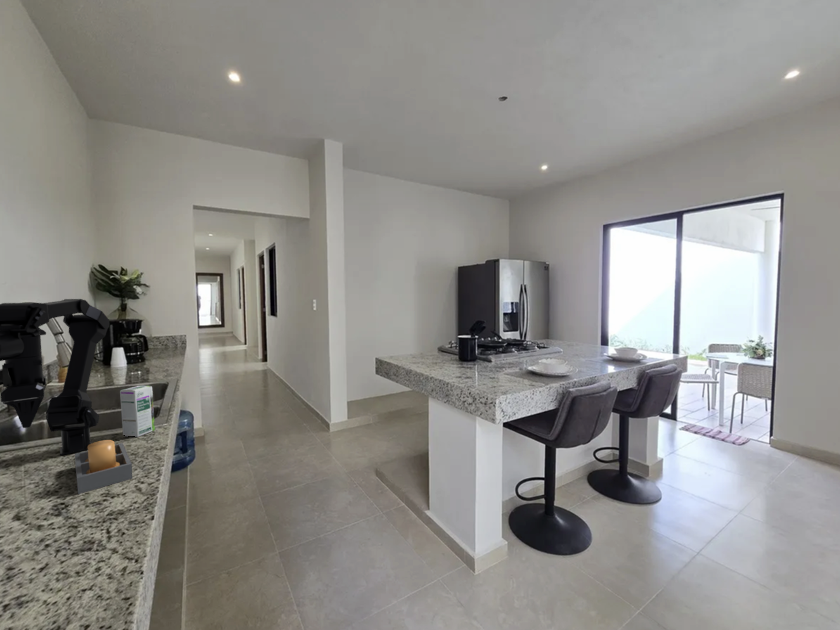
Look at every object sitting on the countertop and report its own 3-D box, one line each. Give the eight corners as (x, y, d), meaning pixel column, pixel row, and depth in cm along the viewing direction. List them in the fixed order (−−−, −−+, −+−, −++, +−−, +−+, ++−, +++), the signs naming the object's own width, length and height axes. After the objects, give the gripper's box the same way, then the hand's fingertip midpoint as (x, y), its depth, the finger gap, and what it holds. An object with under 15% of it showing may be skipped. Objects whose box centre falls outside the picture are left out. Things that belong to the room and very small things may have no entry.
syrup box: (137, 437, 107) (135, 390, 106) (121, 436, 108) (119, 389, 108) (155, 430, 113) (153, 385, 112) (140, 429, 114) (137, 384, 113)
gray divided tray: (75, 467, 88) (74, 443, 88) (123, 455, 94) (122, 433, 94) (78, 494, 76) (76, 466, 75) (132, 478, 82) (131, 453, 82)
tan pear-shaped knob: (85, 475, 82) (82, 445, 81) (117, 465, 86) (115, 437, 86) (88, 484, 78) (85, 453, 77) (122, 473, 82) (119, 444, 82)
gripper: (-25, 356, 83) (-21, 422, 84) (-41, 366, 70) (-36, 444, 71) (44, 351, 91) (48, 411, 92) (41, 359, 78) (45, 429, 79)
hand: (27, 422), depth 83 cm, fingers open, 9 cm apart
